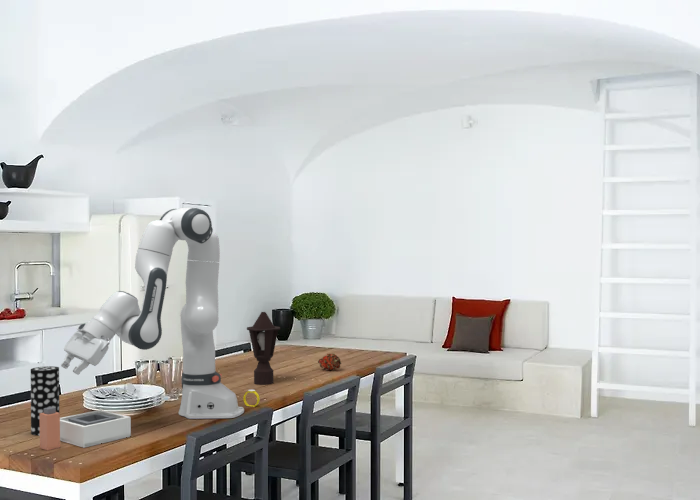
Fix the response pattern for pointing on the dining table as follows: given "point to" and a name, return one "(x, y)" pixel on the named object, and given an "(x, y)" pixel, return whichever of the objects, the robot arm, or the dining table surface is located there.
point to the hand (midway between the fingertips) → (69, 370)
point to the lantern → (263, 348)
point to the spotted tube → (43, 393)
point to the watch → (256, 396)
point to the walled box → (94, 428)
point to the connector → (49, 429)
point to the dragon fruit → (330, 362)
